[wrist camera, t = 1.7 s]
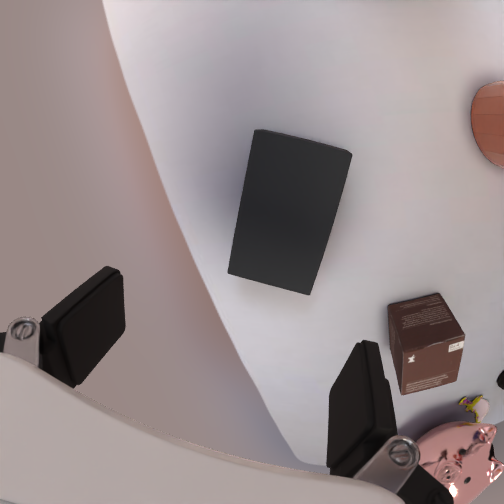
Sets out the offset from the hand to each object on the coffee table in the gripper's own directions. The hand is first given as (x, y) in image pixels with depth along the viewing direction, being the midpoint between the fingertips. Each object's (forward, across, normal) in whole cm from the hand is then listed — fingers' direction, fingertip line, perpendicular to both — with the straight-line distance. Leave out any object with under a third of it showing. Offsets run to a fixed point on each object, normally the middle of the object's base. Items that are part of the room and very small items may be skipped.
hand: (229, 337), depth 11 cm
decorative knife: (+17, -39, +18) cm, 46 cm away
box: (+17, -17, +7) cm, 25 cm away
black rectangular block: (+17, -1, -1) cm, 17 cm away
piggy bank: (+9, -29, +32) cm, 44 cm away
